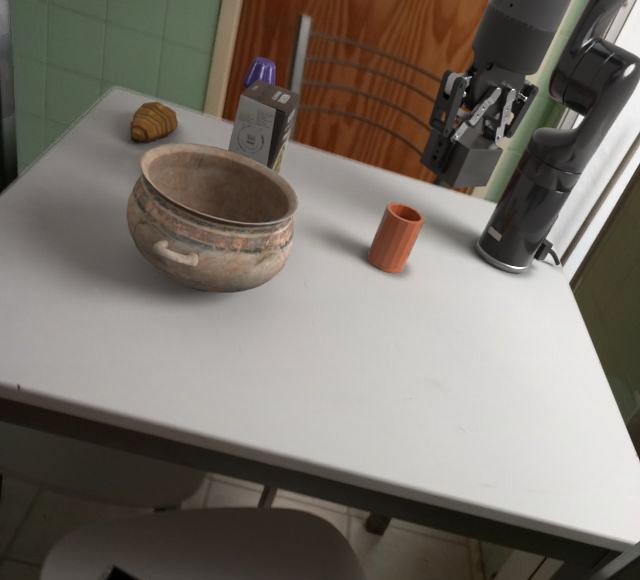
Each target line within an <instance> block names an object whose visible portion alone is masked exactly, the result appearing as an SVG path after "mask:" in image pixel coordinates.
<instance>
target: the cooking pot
mask: <svg viewBox="0 0 640 580" xmlns="http://www.w3.org/2000/svg"><path fill="white" fill-rule="evenodd" d="M139 169H140V172H141V173H140V175H139V177H138V178H137V180H136V181H135V183H134V185H133V186H132V189H131V190H130V193H129V195H128V196H129V197H128V200H127V205H126V211H125V212H126V213H125V217H126V222H127V228H128V233H129V234H130V238H131V239H132V242H133V244H134V246H135V247H136V249H137V251H138V252H139V253H140V255H141V256H142V257H143V258H144V260H146V261H147V263H149V265H151V266H152V267H153V268H154V269H155V270H157V271H158V272H159V273H161V274H162V275H163V276H165V277H167V278H168V279H171V280H172V281H174V282H176V283H178V284H181V285H183V286H186V287H188V288H190V289H193V290H196V291H199V292H200V291H201V292H207V293H216V294H217V293H218V294H232V293H233V294H234V293H240V292H246V291H250V290H253V289H257V288H258V287H261V286H262V285H265V284H266V283H268V282H269V281H271V280H272V279H273V278H274V277H276V276H277V275H278V274H279V273H280V272H281V271H282V270H283V268H284V267H285V265H286V264H287V262H288V260H289V258H290V256H291V254H292V249H293V244H294V222H293V221H294V219H293V216H294V215H295V214H296V212H297V211H298V208H299V204H300V202H299V198H298V194H297V192H296V190H295V189H294V187H292V186H291V184H290V183H289V181H287V180H286V179H285V178H284V177H282V176H281V175H280V173H279V174H277V173H276V172H274V171H273V170H271V169H270V168H268V167H266V166H265V165H263V164H261V163H259V162H257V161H255V160H253V159H251V158H248V157H246V156H243V155H241V154H238V153H235V152H232V151H229V150H228V149H226V148H221V147H217V146H213V145H207V144H203V143H195V142H170V143H169V142H168V143H163V144H159V145H156V146H153V147H151V148H149V149H148V150H146V151H145V152H143V154H142V156H141V157H140V160H139Z"/></svg>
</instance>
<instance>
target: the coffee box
mask: <svg viewBox="0 0 640 580" xmlns="http://www.w3.org/2000/svg"><path fill="white" fill-rule="evenodd" d="M300 98H301V94H300V93H297V92H295V91H292V90H290V89H287V88H284V87H281V86H279V85H276V84H275V85H273V84H269V83H267V82H264V81H262V80H259V79H257V80H256V81H255V82H254V83H253V84H252V85H250V86H249V87H248V88H247V89H246V88H245V89H244V91H242V92H241V93H240V97H239V100H238V105H237V109H236V113H235V117H234V122H233V127H232V131H231V135H230V139H229V144H228V149H227V150H229V151H232V152H235V153H238V154H241V155H243V156H246V157H248V158H251V159H253V160H255V161H257V162H259V163H261V164H263V165H265V166H266V167H268V168H270V169H271V170H273V171H274V172H276V173H277V174H279V175H280V171H281V167H282V163H283V161H284V157H285V152H286V149H287V144H288V142H289V138H290V135H291V131H292V127H293V124H294V120H295V116H296V113H297V109H298V106H299V101H300Z"/></svg>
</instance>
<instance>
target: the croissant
mask: <svg viewBox="0 0 640 580" xmlns="http://www.w3.org/2000/svg"><path fill="white" fill-rule="evenodd" d="M178 125H179V120H178V117H177V113H176V111H175V110H173V109H172V108H171V107H169V106H167V105H165V104H163V103H161V102H160V101H147V102H143V103H142V104H141V105H140V106H139V107H138V108H137V109H136V110H135V111H134V114H133V115H132V120H131V121H130V123H129V130H130V131H129V132H130V133H129V134H130V140H131V141H132V142H133V143H135V144H149V143H155V142H156V141H158V140H162V139H165V138H167V137H168V136H170V135H171V134H172V133H173V132H174V131H175V130H177V128H178Z"/></svg>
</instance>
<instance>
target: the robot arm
mask: <svg viewBox="0 0 640 580" xmlns="http://www.w3.org/2000/svg"><path fill="white" fill-rule="evenodd" d="M571 2H572V0H488V2H487V4H486V7H485V10H484V11H483V15H482V17H481V20H480V22H479V23H478V26H477V29H476V32H475V34H474V35H473V36H474V37H473V39H472V42H471V49H472V51H473V59H472V61H471V62H470V65H468V67H467V68H466V69H465V71H464V72H460V73H457V72H455V71H453V70H452V69H450V68H448V69H446V70H445V71H444V72H443V74H442V77H441V81H440V83H439V87H438V90H437V94H436V98H435V101H434V104H433V107H432V110H431V114H430V117H429V120H428V126H429V127H430V128H431V129H432V128H433V129H435V130H436V131H437V132H438V138H437V140H436V143H435V145H434V148H433V150H432V152H431V155H430V157H429V167H430V168H431V169H433V170H434V171H435V172H436V173H444V172H445V170H446V168H447V166H448V164H449V161H450V159H451V157H452V154H453V152H454V150H455V147H456V145H457V143H456V142H457V141H458V140H459V139H460V137H461V136H462V135H463V133H464V132H465V131H466V129H467V128H468V127H472V128H473V127H474V126H475V125H476V124H477V123H478V121H479V120H480V119H481V118H482V119H481V120H482V121H481V129H480V132H481V133H480V134H482V135H483V136H485V137H486V138H487V139H489V140H490V141H492V142H493V143H494V144H496V145H497V144H500V142H502V140H503V139H504V138H507V139H512V137H514V135H515V133H516V131H517V130H518V128H519V126H520V124H521V123H522V121H523V120H524V118H525V116H526V114H527V112H528V111H529V109H530V108H531V105H532V104H533V102H534V100H535V99H536V97H537V95H538V93H539V91H540V89H539V86H537V85H536V84H535V83H533V82H532V81H529V80H528V79H526V76H533V75H535V74H537V73H538V71H539V69H540V68H541V65H542V63H543V61H544V59H545V57H546V55H547V53H548V51H549V49H550V46H551V45H552V43H553V41H554V38H555V36H556V35H557V32H558V30H559V28H560V26H561V23H562V22H563V20H564V17H565V15H566V13H567V11H568V9H569V7H570V5H571ZM627 2H628V0H586V3H585V5H584V7H583V9H582V10H581V13H580V15H579V17H578V18H577V20H576V22H575V24H574V26H573V28H572V29H571V32H570V34H569V35H568V37H567V40H566V41H565V43H564V45H563V47H562V49H561V51H560V52H559V53H560V54H559V55H558V57H557V60H556V62H555V63H554V66H553V69H552V71H551V74H550V77H549V80H548V81H549V82H548V88H547V89H548V94H549V96H550V98H551V99H553V100H554V101H555V102H557V103H558V104H560V105H561V106H564V107H565V108H567V109H569V110H570V111H572V112H574V113H576V114H578V115H580V116H581V117H583V118H582V120H581V121H580V123H579V124H578V125H577V126H576V127H575V128H574V127H573V128H569V129H567V128H566V129H565V128H564V129H562V128H555V127H548V126H547V127H546V126H544V127H539V128H536V130H535V131H533V133H532V135H531V137H530V139H529V141H528V143H527V144H526V147H525V148H524V151H523V152H522V155H520V158H519V159H518V162H517V164H516V166H515V168H514V171H513V172H512V174H511V176H510V178H509V180H508V182H507V184H506V186H505V188H504V190H503V191H502V194H501V196H500V198H499V199H498V201H497V203H496V206H495V208H494V209H493V211H492V214H491V215H490V217H489V219H488V221H487V223H486V225H485V227H484V229H483V230H482V233H481V235H480V236H479V238H478V239H477V240H476V243H475V245H474V247H475V251H476V252H477V254H478V256H480V257H481V258H482V259H483V260H485V261H486V262H487V263H489V264H490V265H492V266H494V267H496V268H497V269H501V270H502V271H505V272H509V273H514V274H522V273H525V272H526V271H527V270H528V269H529V267H530V266H531V265H532V263H533V261H534V259H535V260H536V261H545V259H546V258H547V256H548V255H550V256H551V257H552V260H553V262H554V265H555V266H560V264H561V262H560V259H559V256H558V254H557V253H556V252H555V250H554V249H552V248H553V246H554V244H553V242H551V241H550V240H549V239H547V237H548V235H550V232H551V230H552V229H553V227H554V225H555V223H556V222H557V221H558V218H559V215H560V212H561V211H562V209H563V207H564V206H565V204H566V202H567V201H568V199H569V197H570V195H571V194H572V192H573V190H574V188H575V187H576V185H577V183H578V181H579V180H580V178H581V176H582V175H583V172H584V171H585V169H586V167H587V166H588V164H589V163H590V161H591V160H592V158H593V157H594V155H595V154H596V153H597V151H598V149H599V148H600V146H601V144H602V143H603V141H604V140H605V138H606V136H607V134H608V133H609V132H610V130H611V128H612V127H613V125H614V123H615V122H616V121H617V119H618V117H619V116H620V114H621V113H622V111H623V110H624V108H625V107H626V105H627V104H628V102H629V100H630V99H631V97H632V96H633V94H634V92H635V90H636V89H637V86H638V85H639V83H640V57H639V56H638V55H637V54H635V53H633V52H631V51H629V50H626V49H625V48H623V47H621V46H619V45H617V44H615V43H613V42H611V41H609V40H607V39H605V38H604V37H605V34H606V32H607V31H608V29H609V26H610V25H611V23H612V21H613V20H614V19H615V16H617V14H618V12H619V11H620V10H621V8H623V6H624V5H625V4H626V3H627ZM463 105H464V108H465V109H466V110H467V111H469V112H467V111H465V110H464V109H462V107H463ZM443 113H445V116H444V118H443V117H442V116H443ZM511 114H513V117H512V119H511V121H510V118H511ZM442 118H443V119H442ZM457 119H459V120H460V121H459V122H458V123H457V124H456V125H457V126H456V127H455V129H454V128H453V125H455V122H456V120H457Z"/></svg>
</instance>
